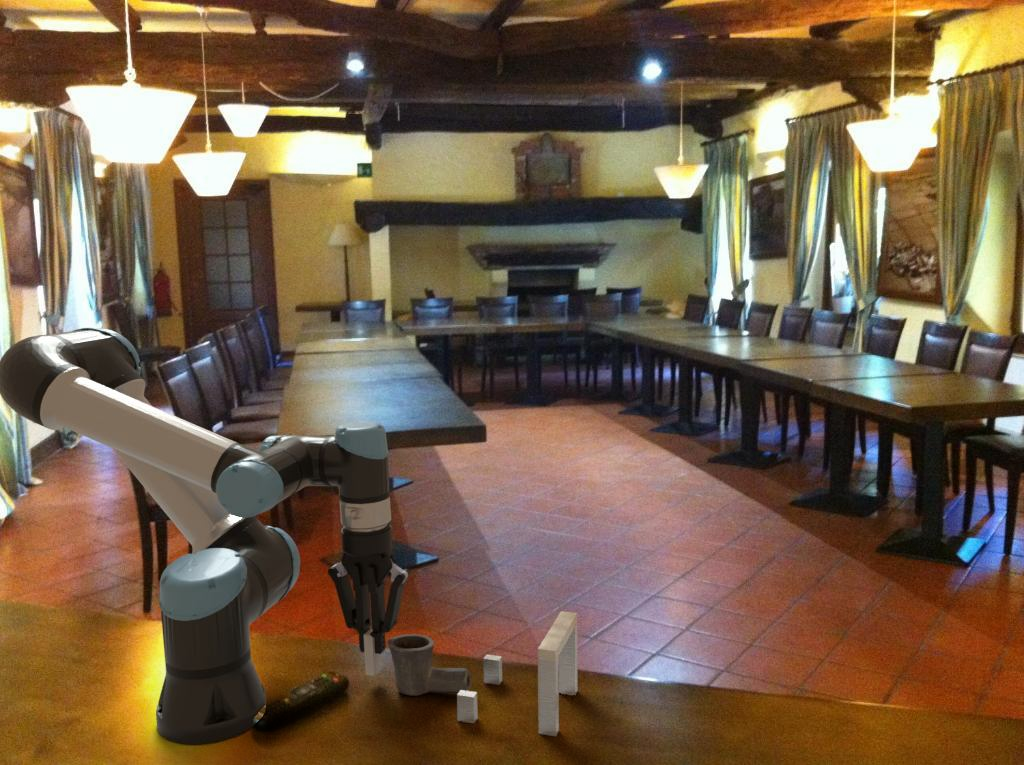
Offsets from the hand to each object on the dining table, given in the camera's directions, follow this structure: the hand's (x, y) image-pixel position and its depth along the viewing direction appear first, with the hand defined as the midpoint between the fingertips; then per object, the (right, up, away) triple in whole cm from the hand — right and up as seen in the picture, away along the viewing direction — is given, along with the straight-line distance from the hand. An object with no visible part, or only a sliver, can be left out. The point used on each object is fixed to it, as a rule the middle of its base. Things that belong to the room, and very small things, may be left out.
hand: (373, 671), depth 136 cm
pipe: (+9, -3, -2) cm, 9 cm away
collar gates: (+22, -3, -7) cm, 24 cm away
